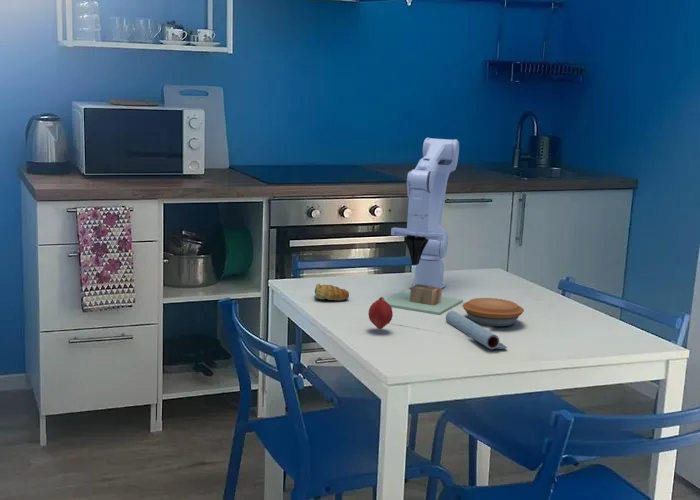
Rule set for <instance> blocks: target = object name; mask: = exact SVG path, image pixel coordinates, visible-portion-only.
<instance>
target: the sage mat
mask: <svg viewBox="0 0 700 500" xmlns="http://www.w3.org/2000/svg"><path fill="white" fill-rule="evenodd" d="M410 292H411V291H408V290H401V291H399V292H397V293H394V294H392V295H390V296H387V297H385V298H384V300H385V301H386V302H387V303H388V304H389V305H390V306H391V308H396V309H402V310H408V311H415V312H419V313H426V314H432V315H442V314H444V313H445V312H447V311H450V310H451V309H453V308H454V307H456V306H458V305H461V303H464V299H461V298H454V297H447V296H442V295H441V302H440V303H438V304H436V305H427V304H421V303H415V302H410Z"/></svg>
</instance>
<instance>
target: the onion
mask: <svg viewBox="0 0 700 500" xmlns="http://www.w3.org/2000/svg"><path fill="white" fill-rule="evenodd" d="M384 299H385V298H384V296H380V297H379V298H378V299H377V300H376V301H374V302H373V303H371V305H370V307H369V309H368V312H367V313H368V314H367V315H368V319H369V321H370V323H372V324H373V325H374V326H375V327H376V328H377V329H379V330H381V329H384V328H385V327H386V326H387V325H389V323H390V322H391V321H392V320H393V315H394V313H393V309H392V308H393V307H391V306H390V305H389V304H388V303H387V302H386V301H385V300H384Z"/></svg>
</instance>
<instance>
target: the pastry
mask: <svg viewBox="0 0 700 500" xmlns="http://www.w3.org/2000/svg"><path fill="white" fill-rule="evenodd" d="M314 297H315V298H316V299H318V300H325V299H326V300H329V301H333V300H334V302H335V301H343V300H348V299H349V297H350V292H349V291H348V290H346V289H345V288H340V287H339V286H334V285H332V284H321V283H317V284H316V285H315V289H314Z"/></svg>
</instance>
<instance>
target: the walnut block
mask: <svg viewBox="0 0 700 500" xmlns="http://www.w3.org/2000/svg"><path fill="white" fill-rule="evenodd" d="M442 289H443V288H441V287H434V286H427V285H420V284H417V285H415V286H413V287H411V288H410V291H409V292H410V302H415V303H421V304H427V305H436V304H438V303H440V302H441V296H442V292H443V291H442Z"/></svg>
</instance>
